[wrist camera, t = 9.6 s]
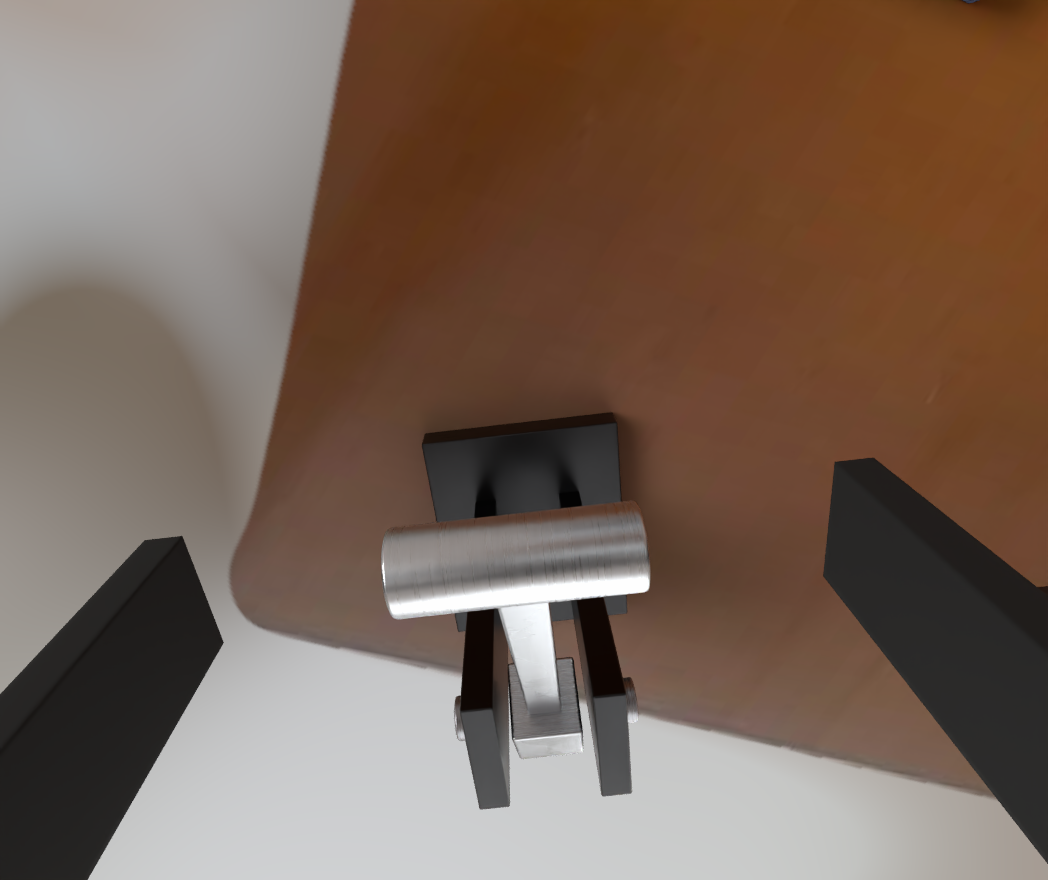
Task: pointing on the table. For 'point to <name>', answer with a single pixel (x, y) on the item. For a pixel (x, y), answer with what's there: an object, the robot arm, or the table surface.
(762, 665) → the table surface
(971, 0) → the button box
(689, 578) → the table surface
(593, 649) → the bracket
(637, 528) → the lever
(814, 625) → the table surface
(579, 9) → the table surface
